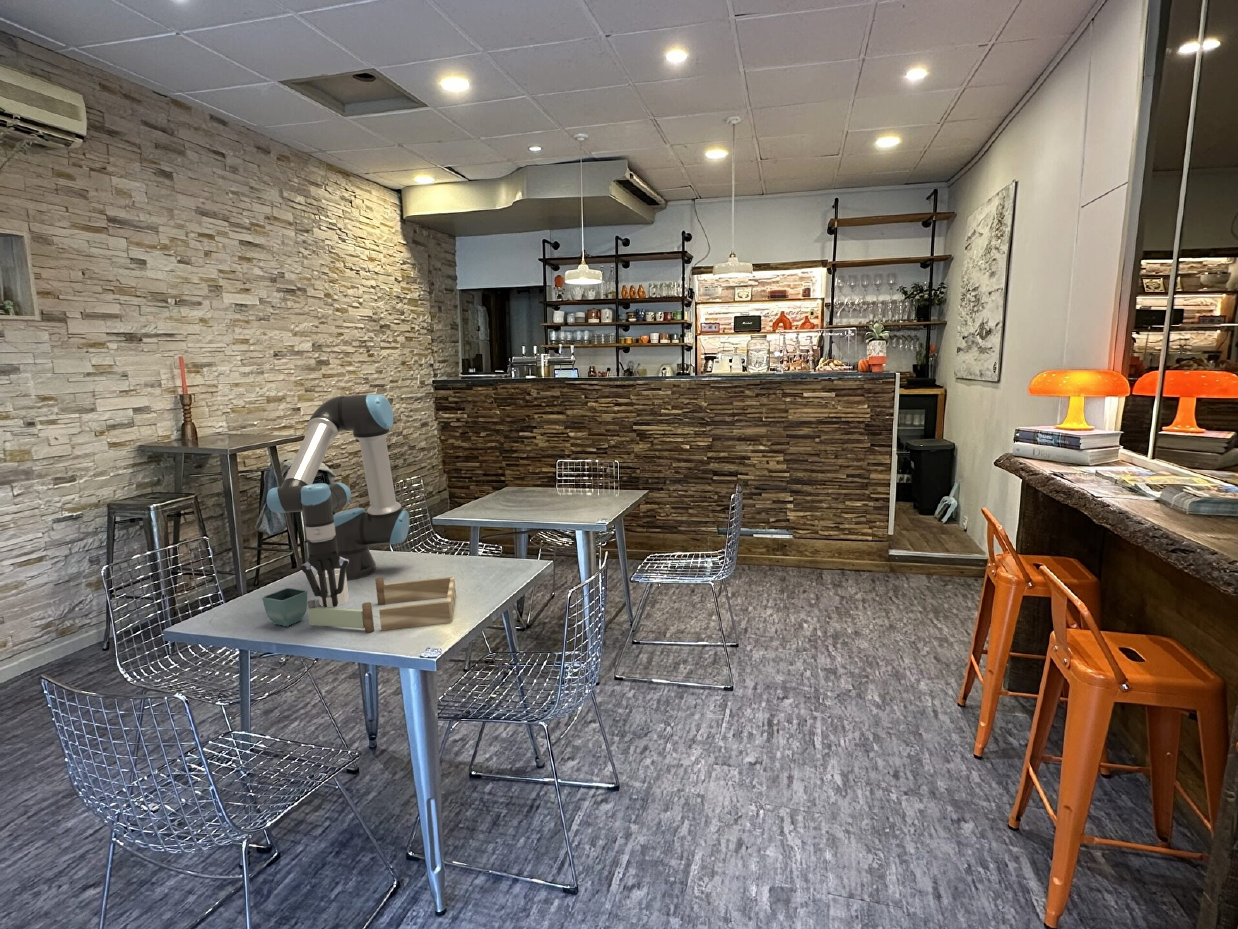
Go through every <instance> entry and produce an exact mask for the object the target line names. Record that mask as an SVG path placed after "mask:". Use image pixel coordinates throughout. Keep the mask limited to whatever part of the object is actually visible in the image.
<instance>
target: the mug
mask: <svg viewBox="0 0 1238 929" xmlns="http://www.w3.org/2000/svg"><path fill="white" fill-rule="evenodd" d="M334 572H335V580H336V588H337V589H338V581H339V574H340V569H335V570H334ZM314 576H315V579H316V581H317V583H318V586H319V588H320V583H319V576H318V573H317V574H315V575H314ZM325 576H326V583H327V590H328V595H330V594H331V593H330V586H329V578H328V574H327V571H326V570H325ZM337 598H338V605H337V607H338V606H341V605H344V604H346V603H348V602H349V600H350V594H349V589H348V580H347V578H346V573H345V580H344V588H343V591H342V592H341V593H340V594H337ZM318 602H319V606H320V605H321V606H320V607H323V601H322V597H320V596H318Z"/></svg>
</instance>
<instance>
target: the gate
mask: <svg viewBox="0 0 1238 929" xmlns="http://www.w3.org/2000/svg"><path fill="white" fill-rule="evenodd" d="M316 603H317V602H316V599H310V600H307V612H308V614H307V615H308V619H309V621H308V622H309V625H311V626H313V625H314V626H325V627H336V628H337V627H338V628H348V629H349V628H350V629H351V628H352V629H364V630H365V626H364V617H363V609H355V608H354V609H353V608H341V607H335V608H327V607H323V606H317V605H316Z"/></svg>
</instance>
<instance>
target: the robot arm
mask: <svg viewBox="0 0 1238 929" xmlns="http://www.w3.org/2000/svg"><path fill="white" fill-rule="evenodd" d="M394 418H395V417H394V411H393V407H392V404H390V401H389V399H387V398H386V396H384V395H381V394H356V395H340V396H335V397H332V398H330V399H328V400H327V401H325V402H324V403H323V404H321V405H320V406H319V407H318V408H316V409H315V411H314V412H313V413H312V414H311V416H310V418H309V420H308V422H307V425H306V427H307V431H306V434H305V436H304V437H303V438H304V439H303V440H302V443H301V444H300V446H299V448H298V451H297V453H296V455H295V457H294V459H293V461H292V463H291V465H290V468H289V470H288V472H287V473H286V476H285V478H284V481H283V482H282V484H281V486H276V487H272V488H271V489H269V490H268V491H267V495H266V505H267V507H268V508H269V510H270V511H271V512H272V513H281V514H282V513H283V514H284V513H285V514H288V513H300V512H302V513H303V519H304V529H305V533H306V534H305V535H306V539H307V540H308V541H307V549H308V559H307V561H306V562H305V563H303V564H301V566H300V570H301V571H302V572H303V573H304V574H305V576H306V579H307V581H308V583H309V586H310V588H311V590H312V593H313V594H314V597H319V596H320V597H322V601H323V606H322V607H327V608H338V606H337V605H338V598H337V594H340V593H341V592H342V591H343V588H344V580H345V573H346V578H347V581H349V580H355V579H360V578H365V577H367V576H370V575H372V574H374V573H375V572H377V565H376V561H375V560H374V558H373V555H372V553H371V552H370V545H371V546H375V545H394V544H395V545H396V544H402V543H403V542H405V541H406V538H407V536H408V534H409V530H410V522H411V521H410V514H409V512H408V511H407V510H405V509H404V510H403V509H402V504H401V503H400V502H398V501H396V492H395V488H394V487H395V486H394V482H393V475H392V468H391V462H390V456H389V450H388V442H387V438H386V437H387V436H388V434H390V429H391V428H392V427H393V425H394ZM342 431H352V434H353V435H352V436H353V437H354V438H355V439H356V440H358V441H359V446H360V447H359V448H360V453H361V454H360V455H361V458H362V464H363V470H364V474H365V481H366V487H367V493H368V498H369V504H370V506H369V507H368V508H367V510H365V508H364V507H356V508H350V509H347V510H342V511H339V512H336V511H337V510H341V509H342V508H344V507H345V506H346V505H348V504H349V502H350V501H351V498H352V493H351V492H352V490H351V489H350V487H349V486H347V485H346V484H345V483H343V482H332V483H330V484H327V483H323V482H322V483H314V480H315V478H316V476H317V474H318V472H319V469H320V467H321V465H322V462H323V460H324V457H325V455H326V453H327V451H328V448H329V446H330V444H331V441H332V440H334V439H336V437H338V434H339V433H340V432H342ZM334 512H336V513H335V514H334ZM312 568H314V569H315V570H316V572H317V574H318V576H319V583H320V588H319V586H318V583H317V581H316V579H315V576H316V575H314V571H313V569H312ZM335 569H340V574H339V581H338V589H337V588H336V580H335V572H334V570H335ZM325 571H327V574H328V578H329V586H330V593H331V594H330V595H328V590H327V583H326V576H325Z"/></svg>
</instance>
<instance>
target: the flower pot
mask: <svg viewBox="0 0 1238 929" xmlns="http://www.w3.org/2000/svg"><path fill="white" fill-rule="evenodd" d="M261 599H262V603H263V606H264V610H265V613H266V615H267V617H268V618H269V620H270V621H271V622H272V623H273V624H274V623H275V624H279V625H278V626H280V625H283V626H282V627H285V626H287V627H289V626H288V625H290V626H291V624H292V625H293V623H294V624H296V622H297V623H299V622H301V621H302V620H303V618H304V616H305V614H306V611H307V609H308V590H306V589H305V590H304V589H297V588H291V587H285V588H284V589H280V590H278V591H275V592H273V593H271V594H268V595H265V596H262V597H261ZM298 621H299V622H298ZM275 624H274V625H275Z"/></svg>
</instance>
